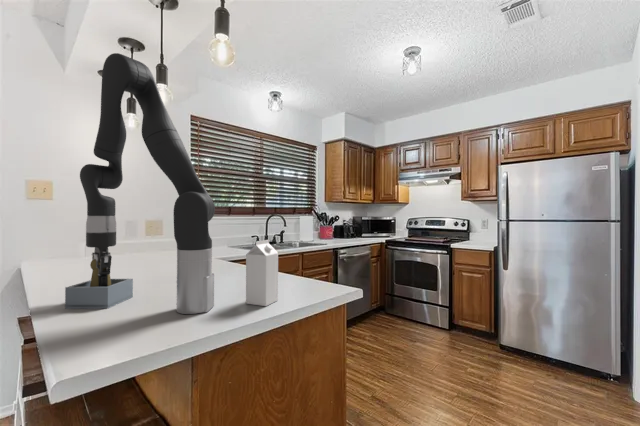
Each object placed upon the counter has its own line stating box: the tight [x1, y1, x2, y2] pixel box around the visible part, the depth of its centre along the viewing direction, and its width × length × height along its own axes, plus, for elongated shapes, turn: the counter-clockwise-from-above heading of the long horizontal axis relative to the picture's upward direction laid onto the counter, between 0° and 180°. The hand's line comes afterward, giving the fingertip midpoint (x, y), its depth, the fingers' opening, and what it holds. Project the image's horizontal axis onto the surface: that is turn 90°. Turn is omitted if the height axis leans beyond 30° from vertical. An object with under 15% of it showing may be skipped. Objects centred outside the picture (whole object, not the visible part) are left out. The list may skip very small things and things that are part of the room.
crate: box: [64, 278, 134, 310], centre depth 94 cm, size 12×12×6 cm
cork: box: [89, 259, 112, 287], centre depth 93 cm, size 6×6×11 cm
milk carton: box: [245, 239, 279, 307], centre depth 94 cm, size 7×7×19 cm
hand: (101, 286), depth 93 cm, fingers closed on cork, 4 cm apart
